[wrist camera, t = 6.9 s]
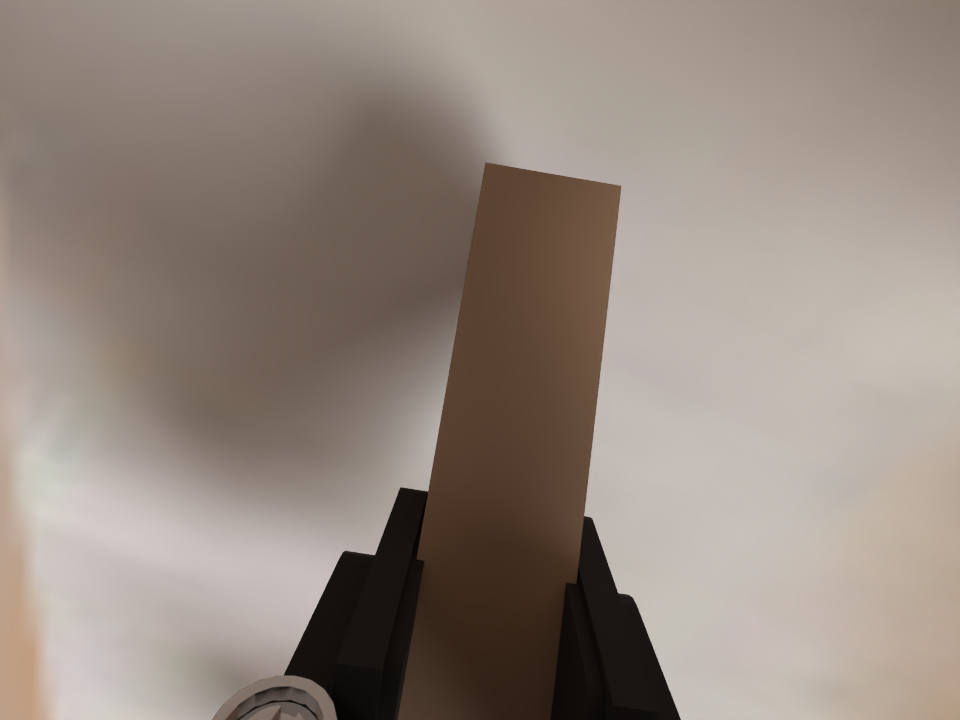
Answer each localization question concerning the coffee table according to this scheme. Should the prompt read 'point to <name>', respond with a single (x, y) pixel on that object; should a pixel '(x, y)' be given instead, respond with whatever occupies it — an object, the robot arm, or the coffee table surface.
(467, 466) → the post on base stand
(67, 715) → the coffee table surface
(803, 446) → the coffee table surface
